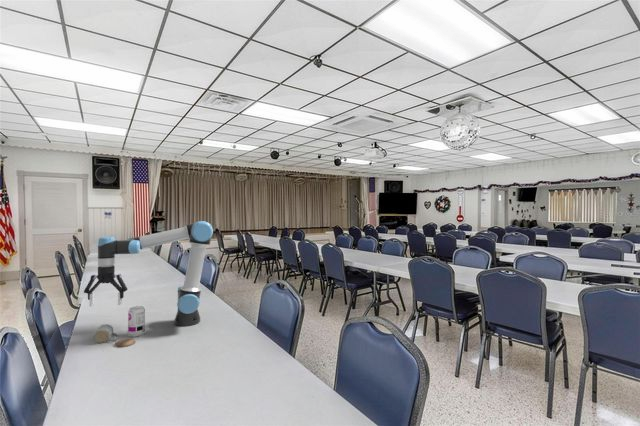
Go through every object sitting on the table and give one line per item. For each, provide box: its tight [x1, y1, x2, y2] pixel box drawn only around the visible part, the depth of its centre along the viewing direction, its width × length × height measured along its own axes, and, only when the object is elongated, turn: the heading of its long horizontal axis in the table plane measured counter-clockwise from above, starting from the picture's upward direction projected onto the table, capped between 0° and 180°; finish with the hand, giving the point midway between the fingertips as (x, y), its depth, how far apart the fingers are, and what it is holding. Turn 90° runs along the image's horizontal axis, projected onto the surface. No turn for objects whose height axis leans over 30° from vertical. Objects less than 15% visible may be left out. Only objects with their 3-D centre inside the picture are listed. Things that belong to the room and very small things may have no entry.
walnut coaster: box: [115, 338, 137, 348], centre depth 165 cm, size 9×9×1 cm
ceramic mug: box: [93, 323, 120, 344], centre depth 170 cm, size 11×8×8 cm
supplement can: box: [127, 305, 146, 338], centre depth 178 cm, size 8×8×15 cm
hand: (105, 305), depth 170 cm, fingers open, 13 cm apart
